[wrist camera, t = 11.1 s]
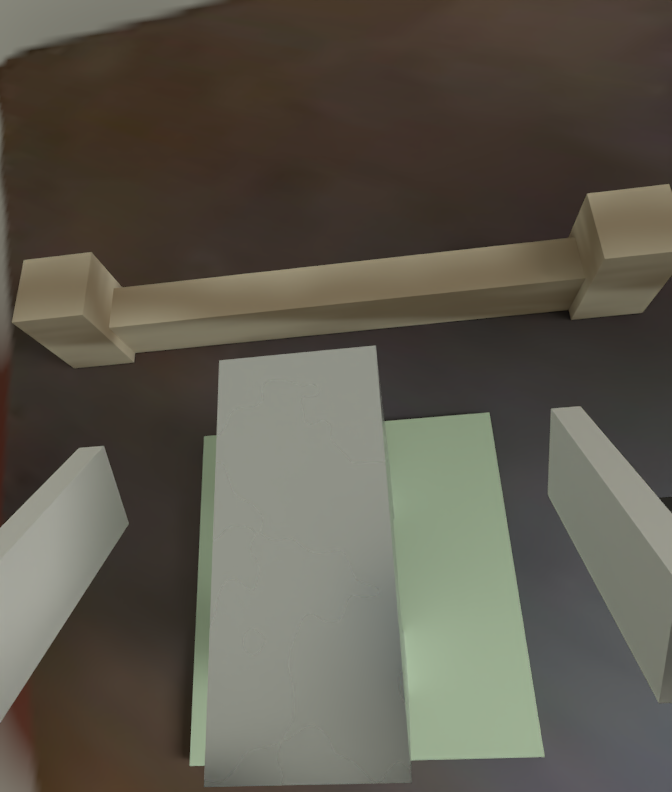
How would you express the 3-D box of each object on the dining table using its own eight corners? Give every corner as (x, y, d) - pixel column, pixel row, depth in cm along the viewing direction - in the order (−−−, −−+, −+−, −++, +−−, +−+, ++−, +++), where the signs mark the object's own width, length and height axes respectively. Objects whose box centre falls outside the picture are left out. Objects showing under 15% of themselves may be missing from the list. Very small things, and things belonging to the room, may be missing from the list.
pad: (208, 440, 24) (204, 436, 24) (487, 417, 23) (489, 412, 23) (195, 762, 20) (189, 765, 19) (540, 752, 19) (544, 756, 18)
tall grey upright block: (304, 475, 22) (219, 360, 12) (390, 468, 22) (376, 345, 12) (309, 696, 20) (204, 786, 9) (409, 693, 19) (411, 782, 9)
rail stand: (81, 313, 28) (23, 260, 23) (625, 255, 25) (669, 184, 21) (73, 368, 26) (11, 322, 22) (642, 312, 24) (691, 249, 20)
